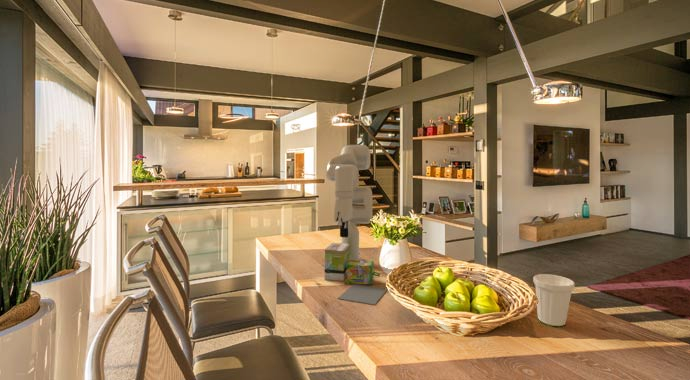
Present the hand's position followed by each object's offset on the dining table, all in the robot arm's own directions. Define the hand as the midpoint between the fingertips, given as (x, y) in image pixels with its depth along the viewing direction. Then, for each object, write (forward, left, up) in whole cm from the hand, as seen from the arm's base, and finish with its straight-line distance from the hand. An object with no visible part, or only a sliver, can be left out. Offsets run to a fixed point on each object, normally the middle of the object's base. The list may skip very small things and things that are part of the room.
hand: (344, 236), depth 152 cm
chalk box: (-12, -3, -19) cm, 23 cm away
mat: (+1, +9, -24) cm, 26 cm away
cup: (-1, +79, -24) cm, 83 cm away
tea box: (-17, -11, -24) cm, 32 cm away
